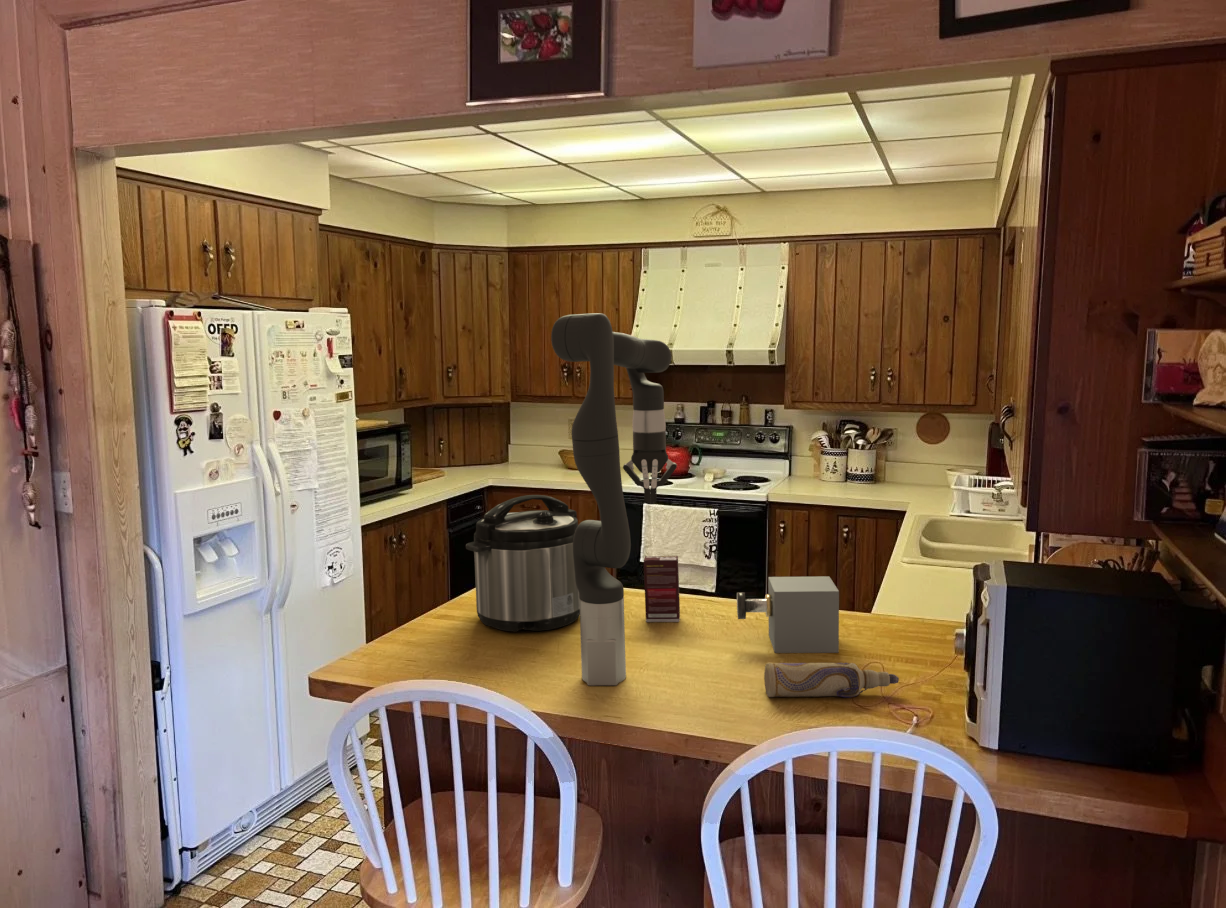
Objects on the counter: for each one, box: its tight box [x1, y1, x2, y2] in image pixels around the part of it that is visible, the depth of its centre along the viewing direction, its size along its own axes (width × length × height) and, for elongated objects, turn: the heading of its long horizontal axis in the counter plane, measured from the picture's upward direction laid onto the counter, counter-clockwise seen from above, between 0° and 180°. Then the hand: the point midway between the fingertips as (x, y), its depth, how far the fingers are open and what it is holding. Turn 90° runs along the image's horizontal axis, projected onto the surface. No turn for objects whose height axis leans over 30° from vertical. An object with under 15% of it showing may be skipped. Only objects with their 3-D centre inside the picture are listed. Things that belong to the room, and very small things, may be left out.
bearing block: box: [767, 575, 840, 654], centre depth 202 cm, size 12×14×14 cm
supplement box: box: [643, 555, 681, 623], centre depth 222 cm, size 9×5×16 cm, turn 84°
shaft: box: [736, 592, 772, 620], centre depth 202 cm, size 6×21×6 cm, turn 86°
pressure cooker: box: [465, 494, 580, 632], centre depth 225 cm, size 30×28×32 cm
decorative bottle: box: [763, 662, 900, 698], centre depth 174 cm, size 26×8×7 cm, turn 88°
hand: (650, 503), depth 206 cm, fingers closed
